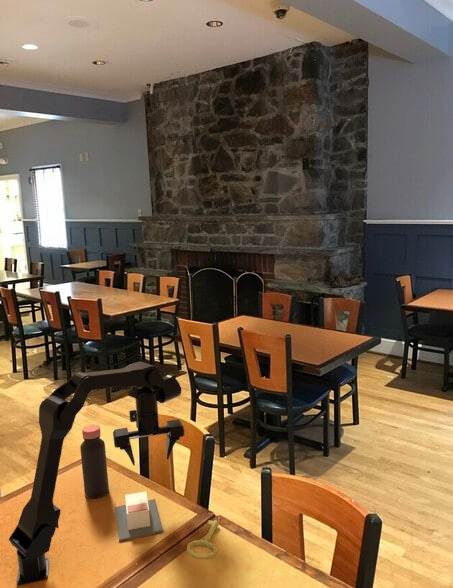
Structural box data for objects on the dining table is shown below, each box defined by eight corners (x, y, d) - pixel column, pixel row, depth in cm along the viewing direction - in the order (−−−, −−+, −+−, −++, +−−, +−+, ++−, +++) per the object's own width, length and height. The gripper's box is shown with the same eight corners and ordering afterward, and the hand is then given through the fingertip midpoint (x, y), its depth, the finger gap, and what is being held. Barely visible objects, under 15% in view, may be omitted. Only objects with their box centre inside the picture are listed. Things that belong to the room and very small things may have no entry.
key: (218, 526, 126) (218, 518, 125) (216, 560, 113) (215, 552, 113) (190, 526, 126) (190, 519, 125) (185, 560, 114) (184, 552, 113)
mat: (163, 532, 123) (163, 529, 123) (119, 541, 120) (118, 539, 120) (155, 500, 137) (155, 498, 136) (115, 508, 134) (114, 506, 133)
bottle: (99, 483, 146) (94, 420, 143) (113, 491, 142) (108, 426, 138) (80, 493, 141) (73, 429, 138) (93, 502, 137) (87, 435, 133)
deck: (147, 506, 133) (146, 490, 132) (150, 525, 125) (149, 509, 124) (126, 510, 132) (125, 494, 131) (128, 530, 124) (126, 513, 123)
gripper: (175, 392, 142) (178, 442, 144) (109, 402, 136) (114, 453, 139) (183, 407, 131) (186, 461, 134) (112, 418, 126) (117, 473, 129)
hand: (150, 461), depth 134 cm, fingers open, 9 cm apart
